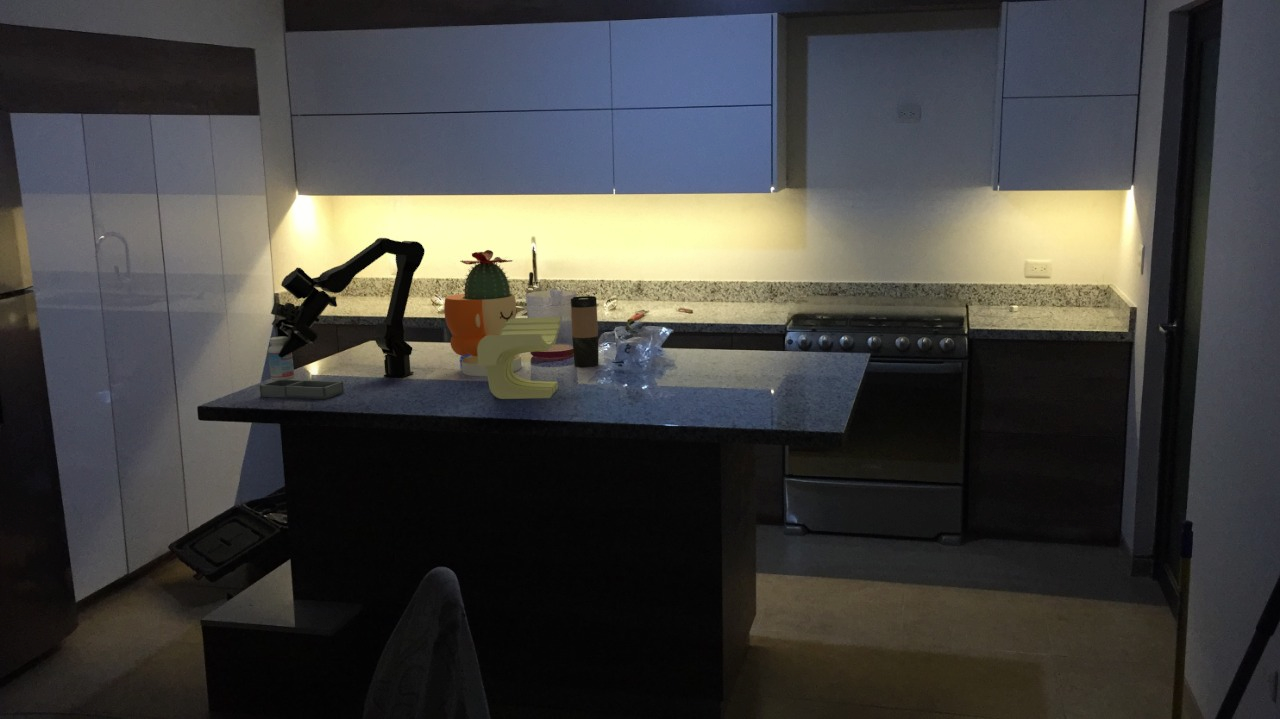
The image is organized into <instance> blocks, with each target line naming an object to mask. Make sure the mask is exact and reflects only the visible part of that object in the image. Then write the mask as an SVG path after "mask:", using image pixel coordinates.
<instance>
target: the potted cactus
mask: <svg viewBox="0 0 1280 719" xmlns="http://www.w3.org/2000/svg"><path fill="white" fill-rule="evenodd" d="M493 256H494V252H493V251H492V250H490V249H486V250H485V251H474V252H473V253H472V252H471V257H472V258H474V259H476V260H462V259H461V260H460V261H459V262H461V264H465V265H470V266H471V265H472V266H471V269H469V270H467V272H469V273H466V274H465V275H464V276H465V277H464V278H463V280H465V281H464V282H463V283H462V286H463V287H464V288H463V291H464V293H459V294H453V295H449V296H446V297H444V298H445V299H444V304H443V307H444V309H443V312H444V319H445V323H446V326H447V328H448V330H449V332H450V333H451V335H452V336H451V338H450V347H451V349H452V351H453V352H454V353H455V354H457V356H462V357H464V356H465V357H464V358H462V359H461V369H462V374H464V375H466V376H471V377H488V374H487V367H486V365H478V354H477V347H478V344H479V342H480V340H481V339H482V338H484V337H485V336H488V335H500V332H501V330H502V327H503V325H504V324H505V323H506V322H507V321H508V320H510V319H513V318H517V311H518V310H517V301H516V300H517V299H516V296H515V294H514V293H513V290H512V284H511V285H510V283H512V282H511V280H509V279H508V278H511V277H510V276H507V275H506V274H507V271H504V267H501V266H502V263H509V262H513V261H514V260H511V259H509V260H508V259H505V258H501V257H500V256H496V257H494V258H493ZM492 258H493V259H492ZM506 258H509V257H506ZM498 263H499V264H498ZM510 288H511V290H510ZM467 355H469V356H467ZM522 367H523V366H522V355H521V354H517V355H515V357H514V361H513V372H514V373H515V372H516V371H517V372H518V371H519V370H521V369H522Z"/></svg>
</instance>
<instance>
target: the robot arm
mask: <svg viewBox="0 0 1280 719" xmlns="http://www.w3.org/2000/svg"><path fill="white" fill-rule="evenodd" d="M425 252H426V250H425V247H424V246H423V245H422V243H421V242H418V241H416V240H415V241H413V240H403V241H401V240H400V241H399V240H394V239H390V238H388V237H378V238H376V239H375V241H373V243H370V245H368V246H366V247H365V248H364V249H363V250H361V251H360V252H358V253H357V254H355V255H354V256H352V257H351V258H350V259H349V260H347V261H346V262H344V263H342V264H341V265H337V266H335V267H332V268H330V269H328V270H326V271H324V272H322V273H321V274H319V276H317V277H311V276H309V275H308V274H307V273H306V272H305V271H304V270H303V268H302V267H296V268H295V269H294V270H293V271H291V272H290V273H289V274H287V275H285V277H284V278H283V279H282V281H281V284H280V285H281V287H283V289H285V290H286V291H287V292H288V293H290V294H291V295H293V296H294V298H296V299H297V300H300V299H304V300H303V301H302V302H301V304H300V305H295V304H294V303H291V302H286V303H285V304H282V303H280V302H279V303H278V302H273V306H272V309H271V311H270V314H271V315H274V316H278V318H275V319H274V320H273V321H272V323H271V326H273V329H274V331H275V336H274V337H281V336H285V337H288V339H287V341H286V342H285V344H284V346H283V347H282V349H281V351H280V353H279V355H278V356H279V357H281V358H282V357H284V356H286V355H288V354H289V353H291V352H292V353H293V352H295V351H297V350H298V349H301V348H303V347H304V346H308V345H309V344H312V345H313V344H315V343H316V342H317V340H318V338H319V337H318V333H317V332H316V331H315V330H313V329H312V326H313V325H314V324H315V323H319V321H320V320H321V319H319V317H320V316H321V315H322V313H323V312H324V311H325V310H326V308H328V306H330V307H334V308H336V307H338V303H337V297H336V296H332V295H329V294H328V293H333V294H339V293H342V292H343V291H344V290H345V289H346V288H348V286H349V285H350V284H351V282H352V281H353V279H354V278H355V277H356V276H357V275H358V274H359V273H360V272H362V271H363V270H365V269H366V268H368V267H369V266H370V265H371V264H373V263H374V262H376V261H377V260H378V259H380V258H382V256H384V255H386V254H391V255H394V256H395V263H396V264H395V265H396V270H397V271H396V274H395V279H394V282H393V287H392V292H391V295H390V299H389V305H388V309H387V314H386V317H385V319H384V320H383V322H377V323H376V330H375V333H374V335H373V337H375V340H374V341H375V343H376V345H377V346H378V347H379V349H381V351H382V353H383V355H384V358H385V359H384V360H383V361H384V362H383V364H384V374H383V377H384V378H385V377H386V378H387V377H389V378H404V377H408V376H410V375H413V374H414V371H411V358H410V356H412V351H413V347H412V346H411V345H410V344H409V343H408V342H406V341H405V326H404V318H405V313H406V309H407V304H408V301H409V300H408V299H409V295H410V291H411V288H412V287H411V286H412V283H413V278H414V274H415V272H416V271H417V270H418V268H419V267H420V265H421V263H422V261H423V259H424V256H425ZM317 288H320V289H321V290H318V289H317Z"/></svg>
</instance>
